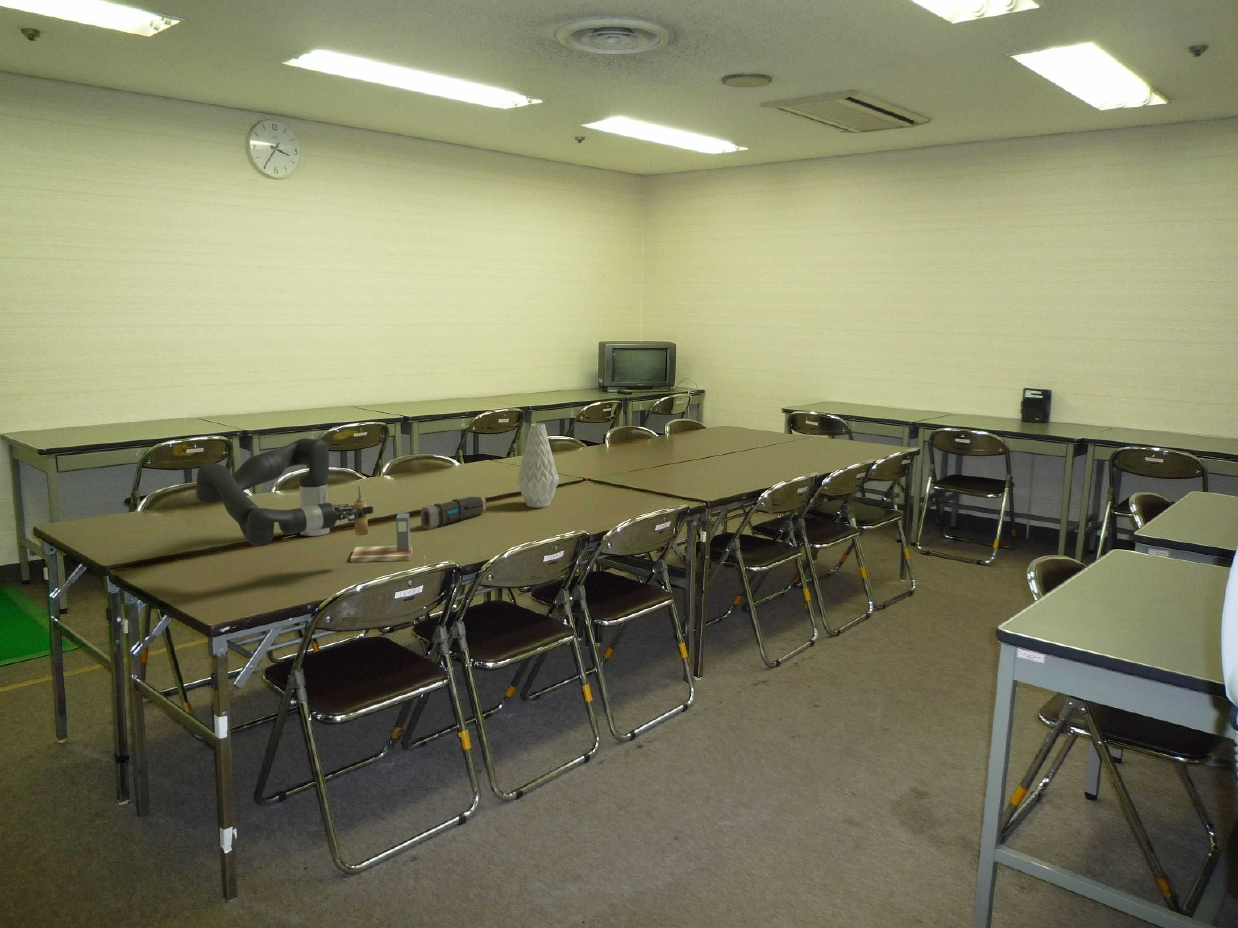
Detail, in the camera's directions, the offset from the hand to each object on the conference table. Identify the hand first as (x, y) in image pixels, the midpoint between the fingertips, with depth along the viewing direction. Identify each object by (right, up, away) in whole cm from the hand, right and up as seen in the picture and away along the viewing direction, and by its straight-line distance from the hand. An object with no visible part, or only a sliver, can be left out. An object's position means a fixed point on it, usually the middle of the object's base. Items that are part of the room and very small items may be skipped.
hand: (368, 508), depth 274 cm
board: (+1, -16, +12) cm, 20 cm away
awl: (-2, -8, -1) cm, 8 cm away
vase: (+45, -3, +84) cm, 96 cm away
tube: (+16, -8, +57) cm, 60 cm away
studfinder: (+7, -14, +15) cm, 22 cm away
